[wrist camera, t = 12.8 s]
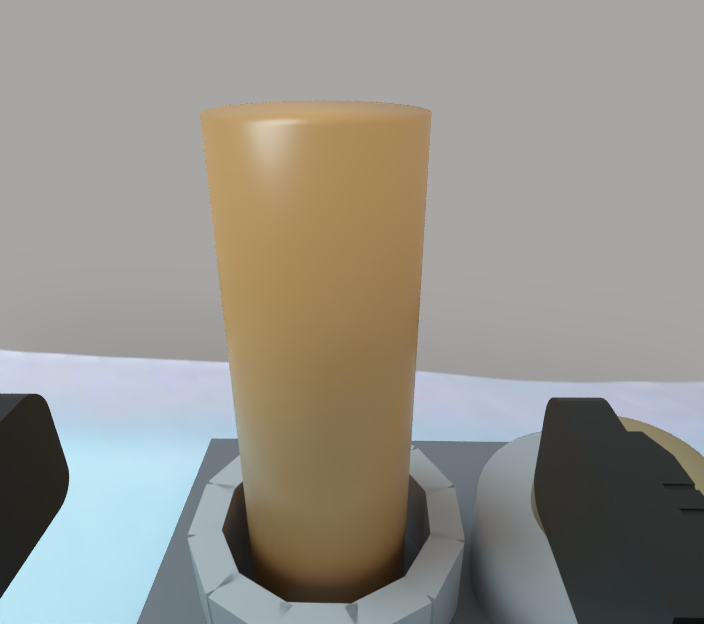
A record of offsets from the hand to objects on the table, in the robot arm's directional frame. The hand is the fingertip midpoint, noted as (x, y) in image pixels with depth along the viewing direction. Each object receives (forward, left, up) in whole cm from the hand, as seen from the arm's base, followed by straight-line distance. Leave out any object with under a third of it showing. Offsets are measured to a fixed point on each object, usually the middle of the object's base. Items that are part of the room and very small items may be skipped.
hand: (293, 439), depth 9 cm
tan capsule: (-3, +5, -11) cm, 12 cm away
